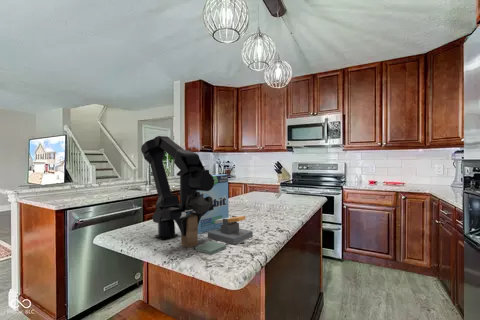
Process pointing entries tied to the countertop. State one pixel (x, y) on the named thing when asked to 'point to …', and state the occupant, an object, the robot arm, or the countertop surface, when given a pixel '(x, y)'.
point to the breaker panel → (231, 237)
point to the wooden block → (190, 232)
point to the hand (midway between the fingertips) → (189, 234)
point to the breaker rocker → (231, 219)
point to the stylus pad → (211, 247)
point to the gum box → (215, 204)
